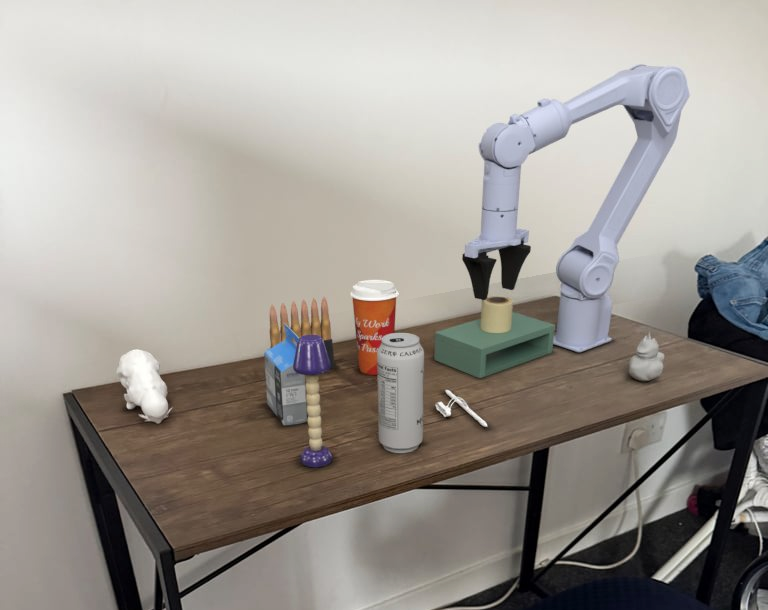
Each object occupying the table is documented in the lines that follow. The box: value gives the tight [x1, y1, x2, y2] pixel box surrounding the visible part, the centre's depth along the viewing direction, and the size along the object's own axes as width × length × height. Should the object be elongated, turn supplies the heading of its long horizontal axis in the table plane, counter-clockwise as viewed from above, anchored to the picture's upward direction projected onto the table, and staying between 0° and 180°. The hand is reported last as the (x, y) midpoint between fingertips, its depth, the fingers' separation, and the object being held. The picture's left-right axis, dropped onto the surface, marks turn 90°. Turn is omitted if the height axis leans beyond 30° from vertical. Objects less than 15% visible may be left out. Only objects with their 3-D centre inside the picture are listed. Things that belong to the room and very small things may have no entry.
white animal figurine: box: [116, 348, 173, 425], centre depth 111 cm, size 6×8×12 cm
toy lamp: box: [293, 335, 333, 468], centre depth 96 cm, size 5×5×17 cm
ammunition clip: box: [269, 296, 336, 370], centre depth 123 cm, size 11×2×12 cm, turn 116°
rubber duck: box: [628, 331, 666, 382], centre depth 120 cm, size 5×7×8 cm
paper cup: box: [350, 279, 400, 376], centre depth 123 cm, size 8×8×14 cm
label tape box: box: [263, 323, 308, 426], centre depth 110 cm, size 9×4×12 cm, turn 23°
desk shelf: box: [433, 311, 556, 379], centre depth 130 cm, size 18×11×5 cm, turn 129°
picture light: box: [434, 389, 488, 428], centre depth 112 cm, size 14×4×2 cm, turn 21°
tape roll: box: [480, 295, 514, 333], centre depth 127 cm, size 5×5×5 cm
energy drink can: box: [376, 332, 425, 454], centre depth 99 cm, size 6×6×15 cm
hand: (494, 293), depth 127 cm, fingers open, 7 cm apart
